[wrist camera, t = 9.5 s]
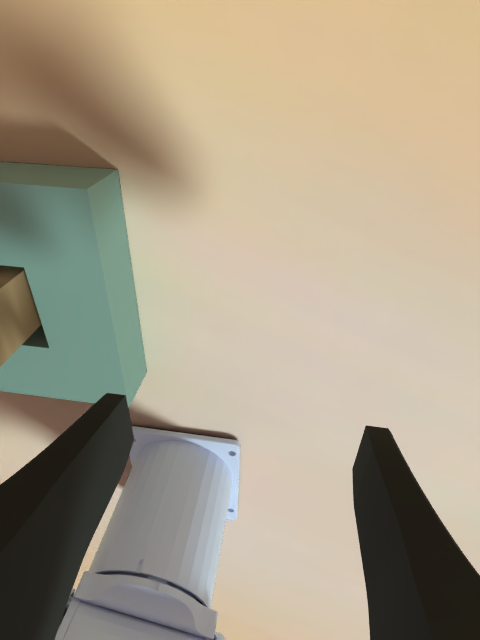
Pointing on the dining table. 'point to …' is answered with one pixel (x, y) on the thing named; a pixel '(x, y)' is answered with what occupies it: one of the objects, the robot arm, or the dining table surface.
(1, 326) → the peg
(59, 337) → the socket block
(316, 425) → the dining table surface
